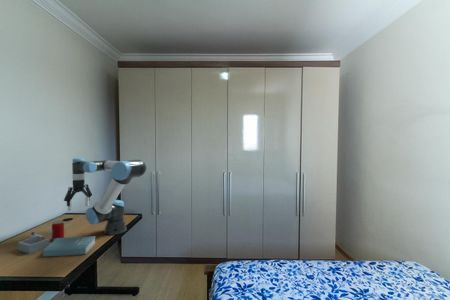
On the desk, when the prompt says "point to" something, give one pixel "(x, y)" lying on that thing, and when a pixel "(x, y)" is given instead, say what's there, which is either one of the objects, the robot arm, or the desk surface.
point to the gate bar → (37, 235)
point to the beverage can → (57, 229)
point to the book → (69, 246)
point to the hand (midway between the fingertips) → (78, 207)
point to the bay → (33, 244)
